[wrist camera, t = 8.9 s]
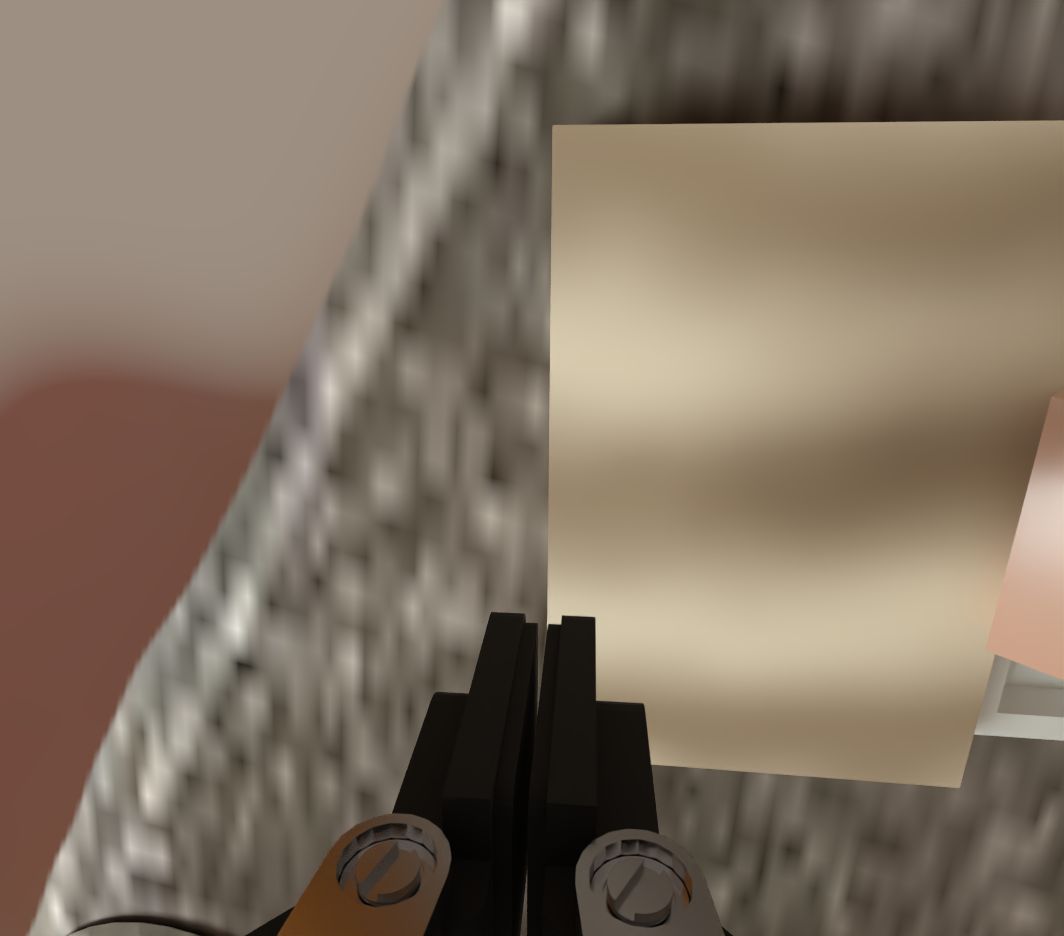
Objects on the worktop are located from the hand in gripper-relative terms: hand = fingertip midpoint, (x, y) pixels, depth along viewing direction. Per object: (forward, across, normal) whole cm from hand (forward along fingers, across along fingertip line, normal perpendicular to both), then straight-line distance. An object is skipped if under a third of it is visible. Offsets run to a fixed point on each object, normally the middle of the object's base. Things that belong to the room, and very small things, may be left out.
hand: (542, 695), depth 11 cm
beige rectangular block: (+10, -5, -1) cm, 12 cm away
